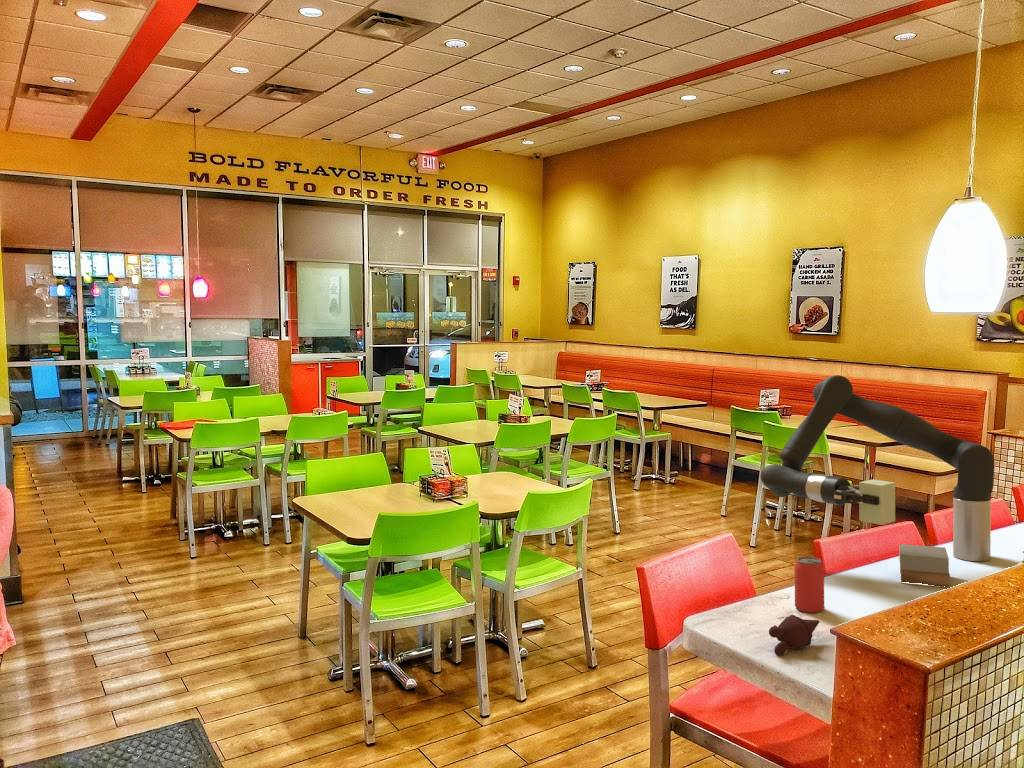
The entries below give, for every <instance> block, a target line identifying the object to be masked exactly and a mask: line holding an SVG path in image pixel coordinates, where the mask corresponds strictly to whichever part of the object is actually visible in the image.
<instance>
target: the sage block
mask: <svg viewBox="0 0 1024 768" xmlns="http://www.w3.org/2000/svg"><path fill="white" fill-rule="evenodd" d="M858 483H859V484H858V485H859V493H863V494H867V495H873V496H878V497H879V505H872V504H866V503H863V504H860V503H858V506H859V507H858V508H859V509H858V510H859V511H858V512H859V517H858V519H859V521H860V522H865V523H869V524H875V525H880V526H882V525H883V526H884V525H888V524H890V523H894V522H896V482H893V481H887V480H881V479H875V478H874V479H868V480H864V481H859V482H858Z"/></svg>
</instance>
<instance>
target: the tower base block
mask: <svg viewBox="0 0 1024 768" xmlns="http://www.w3.org/2000/svg"><path fill="white" fill-rule="evenodd" d="M900 574H901V576H900V583H901V582H909V583H922V584H928V585H934V586H940V587H939V588H944V589H945V588H946V589H947V588H948V587H950V586H951V585H950V584H951V583H950V579H951V577H950V576H951V574H950V573H949V574H943V573H932V572H921V571H909V570H900V569H899V575H900ZM934 586H933V587H934ZM944 586H945V587H944ZM948 589H949V588H948Z"/></svg>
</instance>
